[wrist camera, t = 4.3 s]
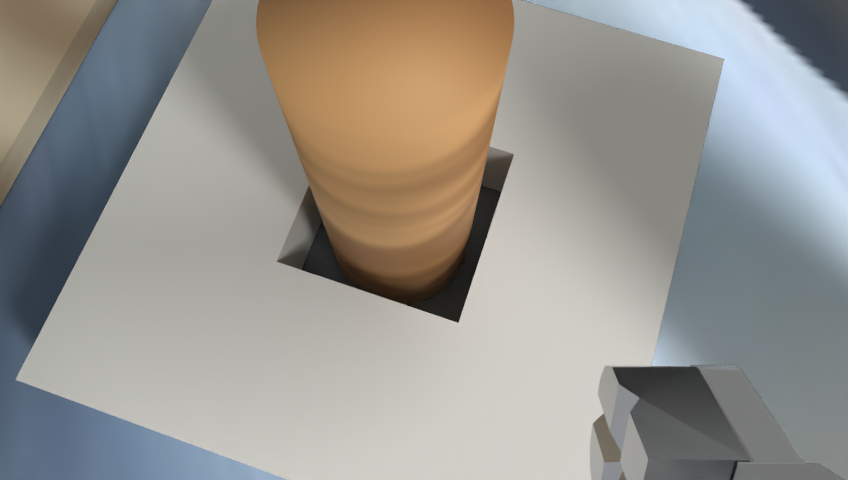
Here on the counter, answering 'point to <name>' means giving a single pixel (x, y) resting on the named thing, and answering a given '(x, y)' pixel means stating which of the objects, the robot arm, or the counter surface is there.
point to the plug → (391, 126)
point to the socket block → (373, 315)
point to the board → (39, 68)
